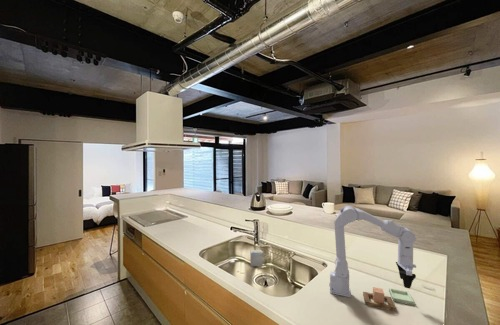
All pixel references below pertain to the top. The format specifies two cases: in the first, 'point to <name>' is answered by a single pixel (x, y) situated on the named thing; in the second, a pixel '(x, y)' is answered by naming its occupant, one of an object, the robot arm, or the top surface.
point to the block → (378, 295)
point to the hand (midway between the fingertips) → (405, 283)
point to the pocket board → (378, 305)
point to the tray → (401, 296)
